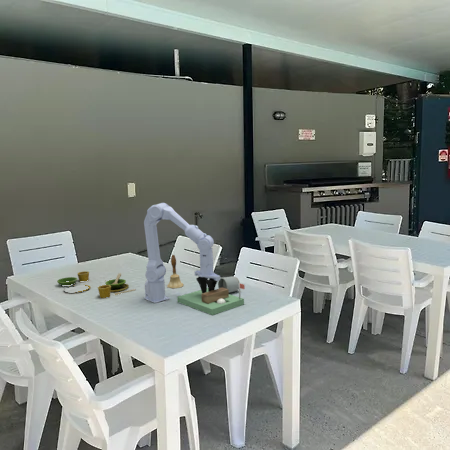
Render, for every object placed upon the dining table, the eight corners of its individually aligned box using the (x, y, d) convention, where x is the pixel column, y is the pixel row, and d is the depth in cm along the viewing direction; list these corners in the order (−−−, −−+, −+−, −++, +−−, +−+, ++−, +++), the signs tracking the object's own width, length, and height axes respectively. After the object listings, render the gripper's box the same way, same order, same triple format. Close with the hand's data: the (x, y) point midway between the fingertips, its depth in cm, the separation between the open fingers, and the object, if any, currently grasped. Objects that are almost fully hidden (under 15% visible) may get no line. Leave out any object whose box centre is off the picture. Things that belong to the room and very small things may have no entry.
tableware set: (138, 291, 216) (138, 279, 215) (84, 305, 198) (83, 292, 197) (102, 275, 247) (101, 264, 246) (52, 286, 230) (51, 274, 229)
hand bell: (167, 289, 216) (165, 257, 214) (166, 284, 225) (164, 253, 222) (184, 287, 218) (182, 256, 216) (182, 283, 226) (181, 252, 224)
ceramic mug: (241, 292, 208) (240, 276, 207) (227, 295, 203) (226, 279, 202) (227, 287, 216) (227, 272, 215) (214, 291, 212) (213, 275, 211)
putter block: (201, 301, 188) (201, 293, 188) (222, 295, 196) (222, 287, 196) (207, 303, 185) (207, 295, 185) (228, 296, 193) (228, 289, 193)
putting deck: (177, 302, 197) (176, 281, 195) (208, 292, 208) (207, 273, 207) (215, 316, 178) (214, 293, 176) (247, 305, 189) (246, 284, 188)
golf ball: (215, 308, 188) (213, 299, 188) (222, 306, 191) (220, 297, 191) (221, 309, 185) (220, 299, 185) (228, 306, 188) (227, 297, 188)
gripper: (188, 263, 195) (190, 292, 197) (211, 268, 184) (212, 299, 187) (200, 260, 199) (202, 288, 202) (223, 264, 189) (224, 295, 191)
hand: (207, 293), depth 194 cm, fingers open, 4 cm apart
